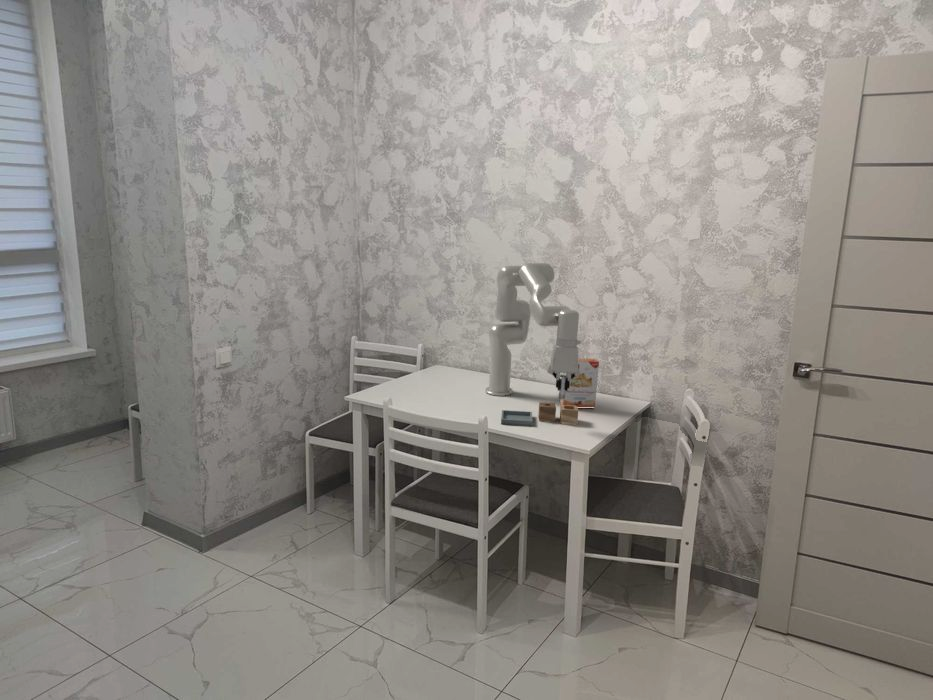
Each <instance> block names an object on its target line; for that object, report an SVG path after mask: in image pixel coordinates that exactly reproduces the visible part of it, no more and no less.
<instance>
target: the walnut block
mask: <svg viewBox="0 0 933 700" xmlns="http://www.w3.org/2000/svg"><path fill="white" fill-rule="evenodd" d="M556 413H557V406H556V402H543V401H542V402H541V401H539V403H538V422H545V421H550V422H549V423H556V415H557V414H556Z"/></svg>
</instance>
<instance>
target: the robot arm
mask: <svg viewBox="0 0 933 700" xmlns="http://www.w3.org/2000/svg"><path fill="white" fill-rule="evenodd" d="M554 279H555V270H554V268H553V267H552V265H551V264H549V263H545V262H544V263H543V262H540V263H539V262H531V263H525V264H523V265H507V266H503V267H501V268H499V270H498V272H497V276H496V281H497V282H496V283H497V297H496V302H495V303H496V304H495V318H496V320H497V321H499V322H502V323H497V324H494V325H492V326H491V327H490V329H489V331H488V338H489V346H490V351H489V355H490V356H489V377H488V378H489V380H488V387H486V388H485V390H484V391H485V393H486V394H488V395H492V396H499V397H503V396H505V395H506V396H510V394H511V395H513V393H514V390H513V388H510V387H511V372H512V371H511V370H512V352H511V351H510V349H509V348H508V345H521V344H524V343H525V342H526V341H527V338H528V334H529V327H530V320H531V316H532V317H533V320H535V323H537V324H538V325H539V326H542V327H557V328H556V329H557V331H556V342H555V344H554V345H553V348H552V351H551V358H550V359H551V360H550V365H549V367H548V368H547V373H548V374H549V375H552V376H553V377H554V378H555V379H556V380H555V381H556V382H555V388H556V389H557V391H559V390H560V382H561V380H560V375H561V373H562V374H563V373H567V378H566V388H565V391H567V389H568V388H569V385H570V381H571V379H572V378H574V377H575V376H578V375H580V371H579V368H578V359H579V347H578V345H581V340H579V339H578V334H579V333H578V331H579V321H580V314H579V312H578V311H577V310H575V309H574V310H573V309H571V308H570V307H568V306H565V305H554V306H553V305H551V306H549V305H547V306H544V305H543V304H542V302H543V301H544V300H546V299H547V298H549V296H550V295H551V294H552V289H553V288H552V286H551V283H553V281H554ZM524 286H525V287H526V289H527V291H528V292H529V294H530V298H529V302H528V301H526V300H524V299H523V300H522V299H521V300H520V299H517V297H518V290H517V287H524ZM571 373H572V374H571ZM506 396H505V397H506Z"/></svg>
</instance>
